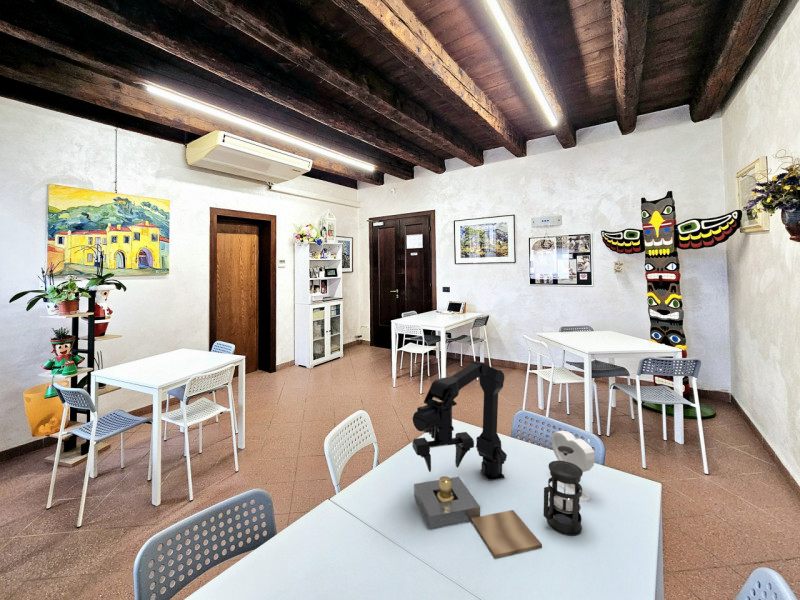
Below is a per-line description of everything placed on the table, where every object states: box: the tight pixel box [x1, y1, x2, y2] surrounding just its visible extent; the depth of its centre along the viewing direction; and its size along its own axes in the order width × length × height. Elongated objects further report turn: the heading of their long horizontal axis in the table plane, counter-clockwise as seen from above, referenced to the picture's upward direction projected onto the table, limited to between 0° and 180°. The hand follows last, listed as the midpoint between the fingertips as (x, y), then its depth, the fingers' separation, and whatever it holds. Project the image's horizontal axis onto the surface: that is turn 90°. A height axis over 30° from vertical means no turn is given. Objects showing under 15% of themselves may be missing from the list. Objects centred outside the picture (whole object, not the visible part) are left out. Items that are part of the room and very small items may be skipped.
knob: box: [437, 475, 453, 503], centre depth 109 cm, size 5×5×9 cm
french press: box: [542, 446, 584, 537], centre depth 100 cm, size 12×9×23 cm
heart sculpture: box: [550, 430, 596, 501], centre depth 117 cm, size 16×5×18 cm, turn 17°
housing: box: [413, 476, 481, 530], centre depth 109 cm, size 16×16×4 cm
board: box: [470, 509, 543, 559], centre depth 98 cm, size 14×14×1 cm
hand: (443, 469), depth 109 cm, fingers open, 9 cm apart
